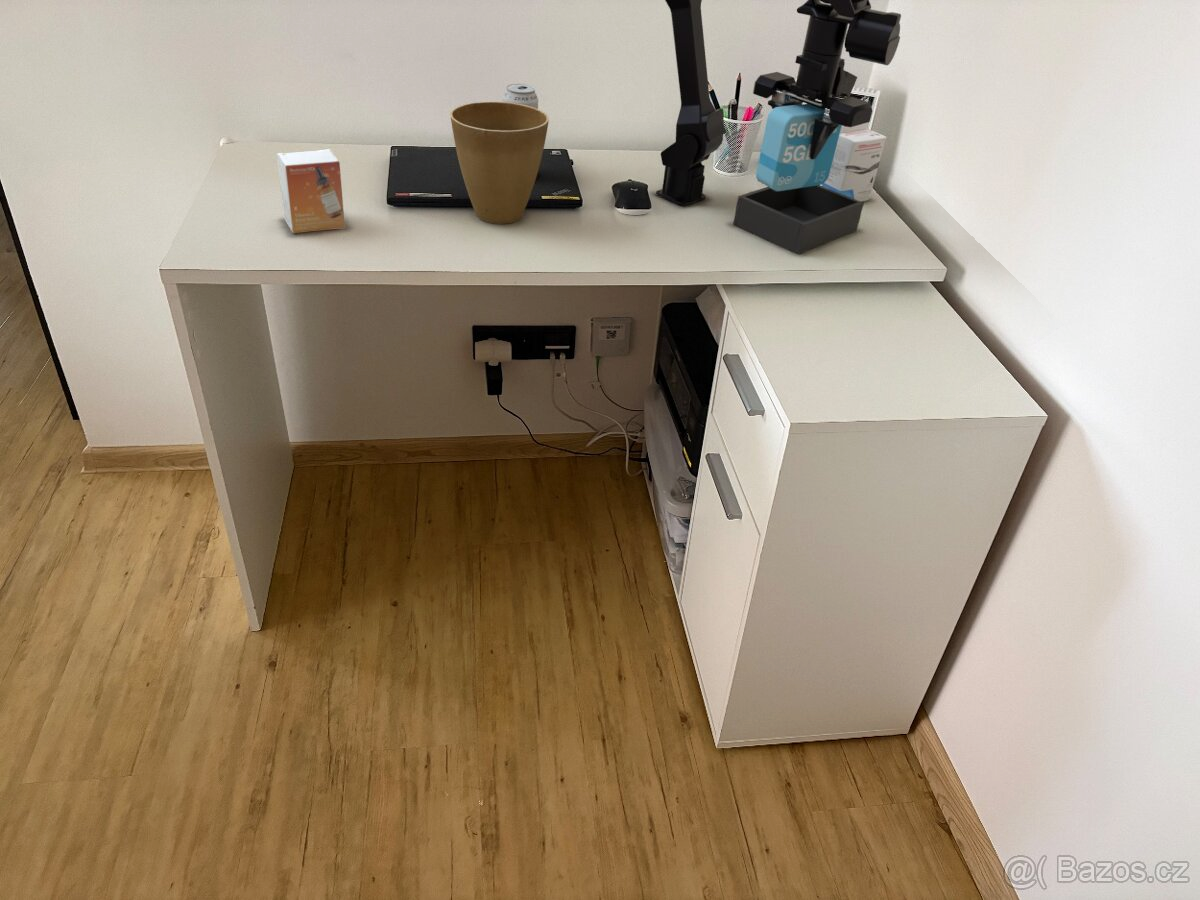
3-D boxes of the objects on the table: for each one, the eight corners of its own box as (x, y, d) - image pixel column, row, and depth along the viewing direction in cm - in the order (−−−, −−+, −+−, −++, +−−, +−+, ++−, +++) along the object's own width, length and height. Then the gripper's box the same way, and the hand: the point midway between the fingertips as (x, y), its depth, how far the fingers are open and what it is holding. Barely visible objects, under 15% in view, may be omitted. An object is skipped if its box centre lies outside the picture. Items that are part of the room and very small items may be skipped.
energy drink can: (494, 174, 162) (495, 87, 153) (514, 166, 166) (516, 80, 157) (522, 183, 160) (525, 95, 151) (541, 174, 164) (545, 88, 155)
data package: (770, 193, 145) (787, 116, 137) (753, 182, 148) (768, 107, 140) (827, 184, 150) (846, 110, 143) (809, 174, 153) (827, 101, 146)
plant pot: (560, 212, 151) (566, 114, 142) (512, 242, 141) (515, 138, 131) (485, 189, 156) (486, 93, 147) (433, 217, 146) (430, 115, 136)
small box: (292, 235, 136) (283, 165, 130) (284, 220, 140) (275, 152, 134) (346, 228, 140) (340, 160, 133) (336, 214, 143) (330, 147, 137)
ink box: (837, 207, 163) (858, 124, 154) (818, 197, 167) (837, 115, 158) (870, 200, 167) (892, 118, 159) (851, 190, 171) (871, 110, 162)
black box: (732, 224, 153) (738, 196, 150) (792, 204, 163) (798, 176, 160) (798, 254, 146) (804, 224, 143) (856, 230, 155) (864, 202, 152)
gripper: (904, 60, 136) (876, 162, 146) (803, 30, 147) (783, 128, 156) (863, 69, 130) (836, 176, 139) (760, 37, 140) (742, 139, 149)
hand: (799, 153), depth 146 cm, fingers closed on data package, 5 cm apart
